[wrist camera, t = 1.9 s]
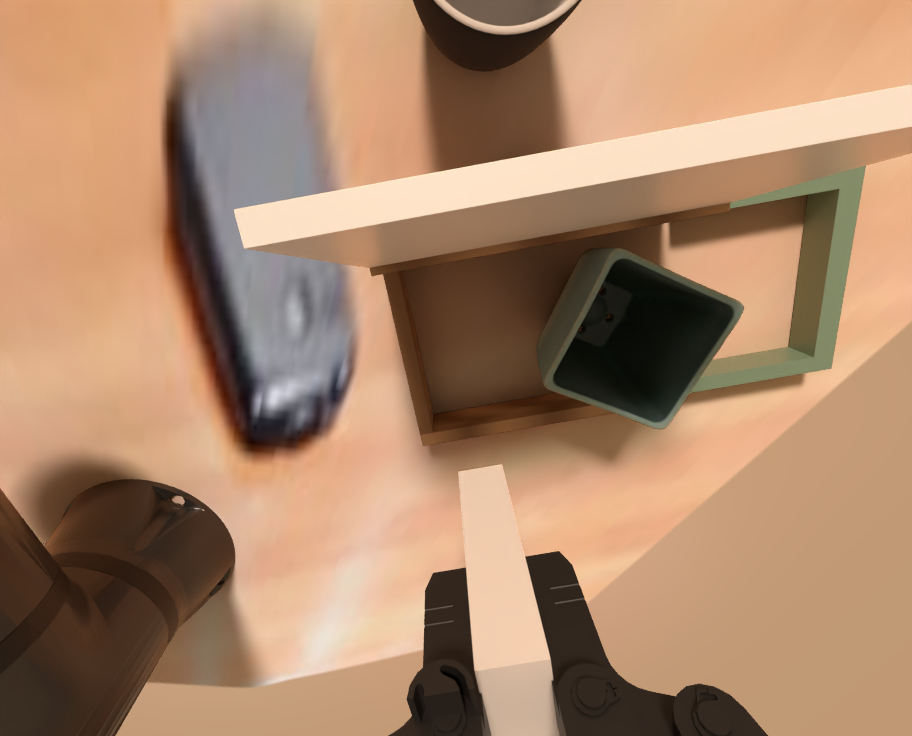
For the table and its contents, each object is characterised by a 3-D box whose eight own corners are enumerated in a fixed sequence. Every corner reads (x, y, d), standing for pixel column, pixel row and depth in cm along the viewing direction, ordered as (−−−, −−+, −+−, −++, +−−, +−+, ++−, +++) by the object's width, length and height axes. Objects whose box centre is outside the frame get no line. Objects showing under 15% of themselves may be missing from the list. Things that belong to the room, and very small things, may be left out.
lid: (244, 248, 9) (233, 209, 9) (368, 267, 23) (365, 252, 23) (1198, 74, 9) (1205, 30, 9) (733, 201, 23) (733, 186, 23)
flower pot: (610, 378, 35) (665, 434, 27) (514, 341, 34) (540, 387, 25) (668, 278, 32) (749, 305, 24) (566, 232, 31) (614, 244, 22)
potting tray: (666, 381, 35) (682, 394, 33) (669, 196, 30) (688, 196, 28) (805, 357, 35) (831, 368, 33) (832, 167, 30) (865, 164, 28)
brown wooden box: (423, 426, 36) (421, 481, 29) (382, 244, 30) (367, 257, 23) (660, 385, 36) (715, 431, 29) (662, 193, 30) (731, 191, 23)
